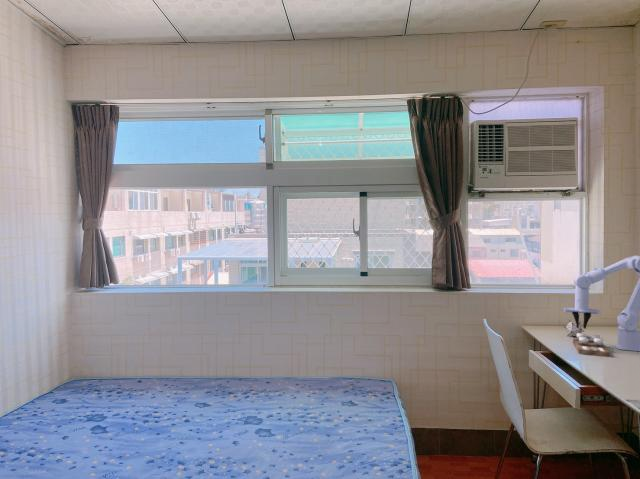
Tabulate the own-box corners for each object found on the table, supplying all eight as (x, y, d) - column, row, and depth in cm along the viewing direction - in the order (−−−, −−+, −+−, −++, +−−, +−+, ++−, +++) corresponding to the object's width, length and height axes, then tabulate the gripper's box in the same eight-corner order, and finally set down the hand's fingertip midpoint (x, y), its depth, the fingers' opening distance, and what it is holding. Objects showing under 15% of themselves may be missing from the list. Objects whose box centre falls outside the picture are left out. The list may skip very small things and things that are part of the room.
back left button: (584, 337, 214) (584, 333, 214) (585, 339, 210) (585, 335, 210) (576, 336, 215) (576, 332, 215) (577, 338, 212) (577, 334, 212)
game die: (574, 344, 226) (571, 331, 221) (562, 334, 233) (558, 322, 229) (589, 335, 226) (586, 322, 221) (576, 326, 234) (573, 313, 229)
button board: (601, 345, 212) (601, 340, 212) (609, 356, 195) (610, 351, 195) (572, 342, 217) (572, 337, 217) (578, 353, 199) (578, 348, 199)
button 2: (598, 338, 211) (598, 334, 211) (600, 340, 208) (600, 336, 208) (590, 337, 213) (590, 334, 213) (591, 339, 210) (591, 335, 209)
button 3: (601, 342, 205) (601, 338, 205) (603, 344, 202) (603, 340, 202) (592, 341, 206) (593, 337, 206) (594, 343, 203) (594, 339, 203)
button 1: (587, 340, 207) (587, 337, 207) (588, 343, 204) (588, 339, 204) (578, 340, 209) (578, 336, 209) (579, 342, 205) (579, 338, 205)
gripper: (565, 300, 211) (565, 328, 212) (601, 302, 205) (600, 331, 206) (563, 298, 217) (563, 325, 218) (598, 299, 212) (597, 327, 213)
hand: (581, 327), depth 213 cm, fingers closed
